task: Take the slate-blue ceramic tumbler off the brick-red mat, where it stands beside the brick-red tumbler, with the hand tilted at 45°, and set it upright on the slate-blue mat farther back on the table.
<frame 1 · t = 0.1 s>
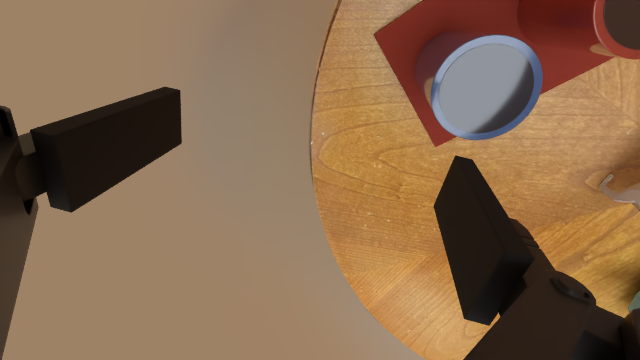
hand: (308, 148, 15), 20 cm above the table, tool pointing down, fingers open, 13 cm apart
blue tumbler: (450, 68, 30), resting on red mat
red mat: (497, 39, 29), on the table
red tumbler: (560, 3, 27), resting on red mat
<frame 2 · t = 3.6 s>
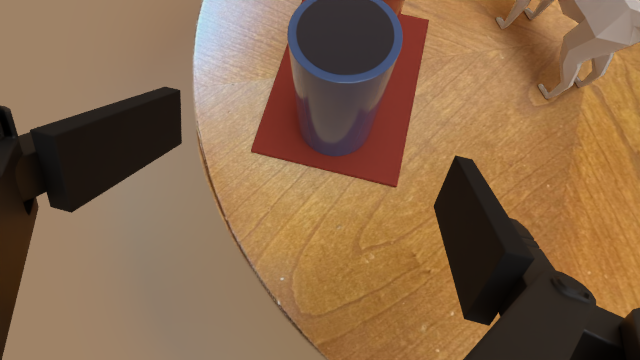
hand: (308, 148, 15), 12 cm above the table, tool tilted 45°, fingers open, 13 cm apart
blue tumbler: (335, 122, 29), resting on red mat
cat figurine: (539, 60, 31), on the table
red mat: (345, 82, 30), on the table
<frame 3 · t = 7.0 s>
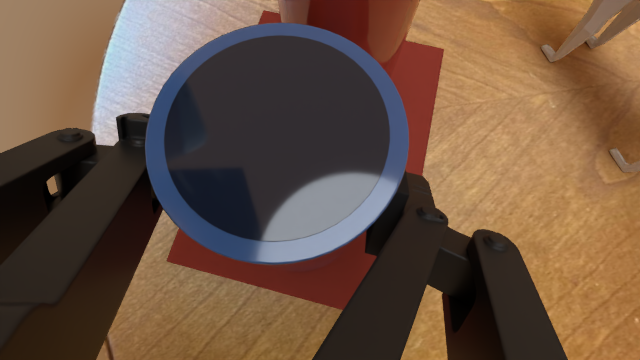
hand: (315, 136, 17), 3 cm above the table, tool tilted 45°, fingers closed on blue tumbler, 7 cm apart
blue tumbler: (300, 212, 18), resting on red mat, touching gripper
cat figurine: (608, 109, 21), on the table
red mat: (319, 146, 20), on the table
red tumbler: (338, 76, 21), resting on red mat
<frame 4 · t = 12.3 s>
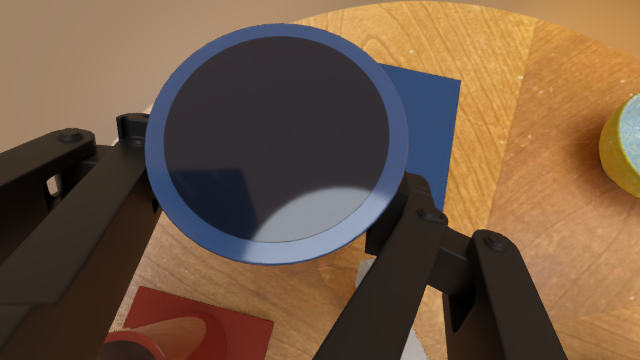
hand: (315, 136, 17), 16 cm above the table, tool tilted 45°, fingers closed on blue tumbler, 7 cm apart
blue tumbler: (300, 213, 18), point 13 cm above the table, touching gripper
red tumbler: (189, 351, 28), resting on red mat
bowl: (620, 167, 34), on the table
blue mat: (378, 128, 35), on the table
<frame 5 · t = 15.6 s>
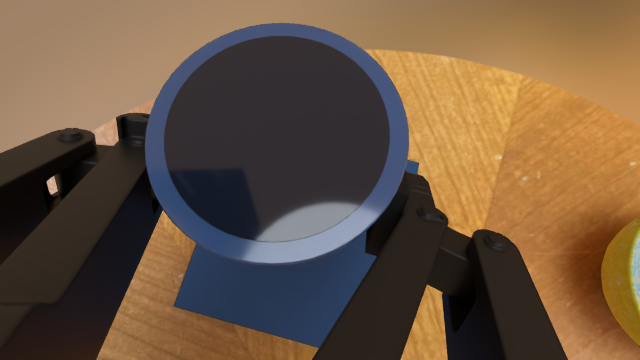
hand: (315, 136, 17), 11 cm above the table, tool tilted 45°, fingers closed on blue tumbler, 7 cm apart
blue tumbler: (300, 213, 18), point 8 cm above the table, touching gripper
bowl: (630, 289, 25), on the table
blue mat: (304, 230, 26), on the table
when the fingers open (3 cm above the table, at t = 18.0 s): blue tumbler stays where it is, resting on blue mat.
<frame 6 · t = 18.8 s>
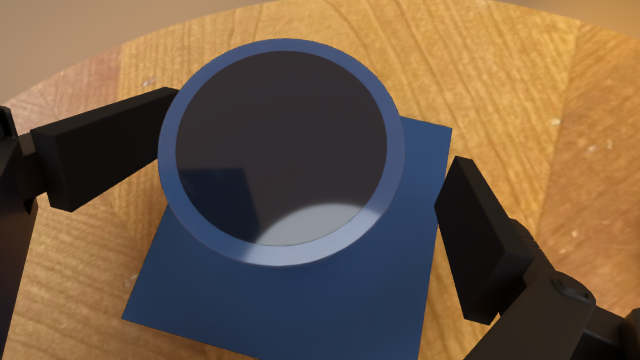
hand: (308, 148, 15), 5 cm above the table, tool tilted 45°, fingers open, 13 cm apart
blue tumbler: (301, 215, 19), resting on blue mat
blue mat: (302, 215, 19), on the table
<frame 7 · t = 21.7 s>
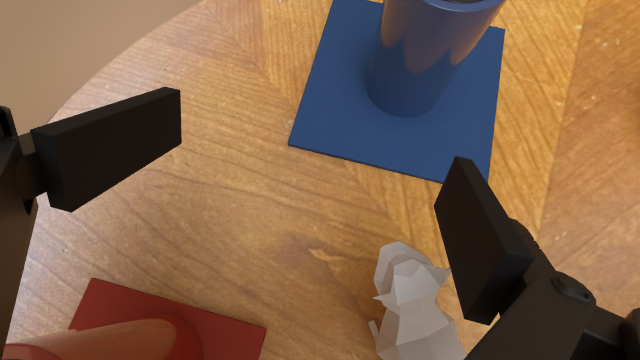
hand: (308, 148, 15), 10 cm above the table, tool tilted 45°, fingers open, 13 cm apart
blue tumbler: (403, 83, 27), resting on blue mat
blue mat: (402, 85, 28), on the table
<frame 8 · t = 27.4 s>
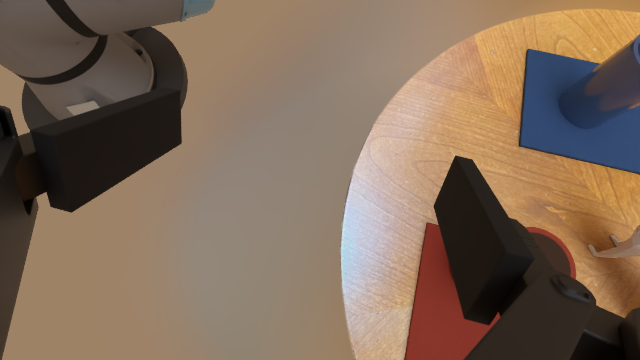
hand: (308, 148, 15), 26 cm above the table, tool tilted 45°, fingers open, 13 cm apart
blue tumbler: (582, 107, 44), resting on blue mat
cat figurine: (627, 286, 38), on the table
red mat: (470, 311, 37), on the table
red tumbler: (476, 268, 38), resting on red mat
blue mat: (580, 108, 45), on the table
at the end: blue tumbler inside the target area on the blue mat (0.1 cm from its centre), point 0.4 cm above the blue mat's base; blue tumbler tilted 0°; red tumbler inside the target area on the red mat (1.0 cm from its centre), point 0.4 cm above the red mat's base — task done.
